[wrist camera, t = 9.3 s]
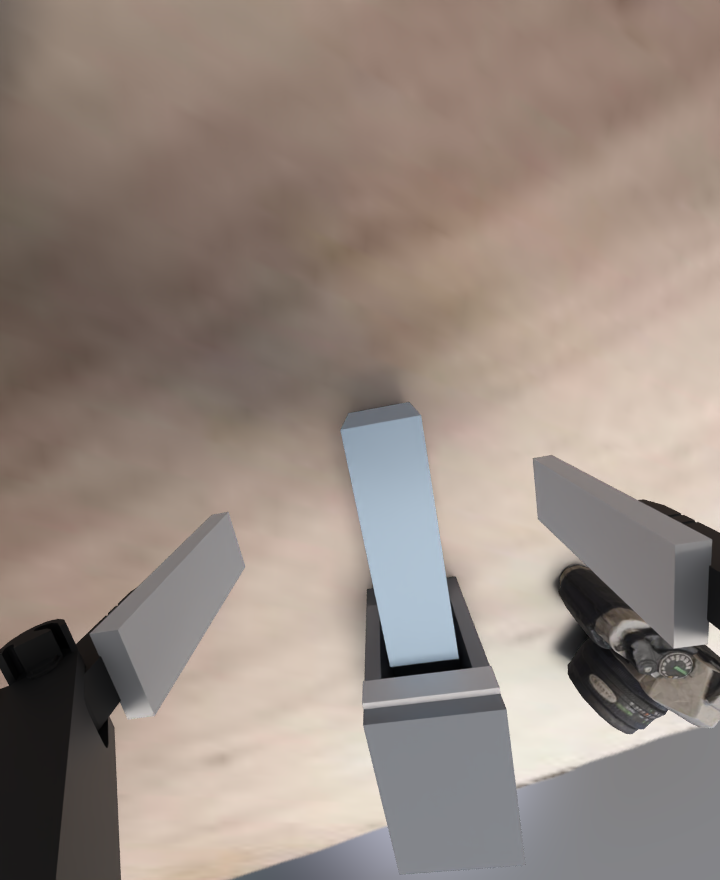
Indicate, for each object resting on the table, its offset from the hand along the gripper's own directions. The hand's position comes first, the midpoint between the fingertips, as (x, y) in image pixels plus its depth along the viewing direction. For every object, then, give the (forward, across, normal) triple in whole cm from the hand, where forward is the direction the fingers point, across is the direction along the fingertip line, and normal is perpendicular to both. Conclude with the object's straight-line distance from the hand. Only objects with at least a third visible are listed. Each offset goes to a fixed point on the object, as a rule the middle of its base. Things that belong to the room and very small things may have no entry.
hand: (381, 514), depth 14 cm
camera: (+17, +19, -24) cm, 35 cm away
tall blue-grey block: (+14, +1, -6) cm, 15 cm away
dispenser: (+17, +1, -23) cm, 28 cm away
